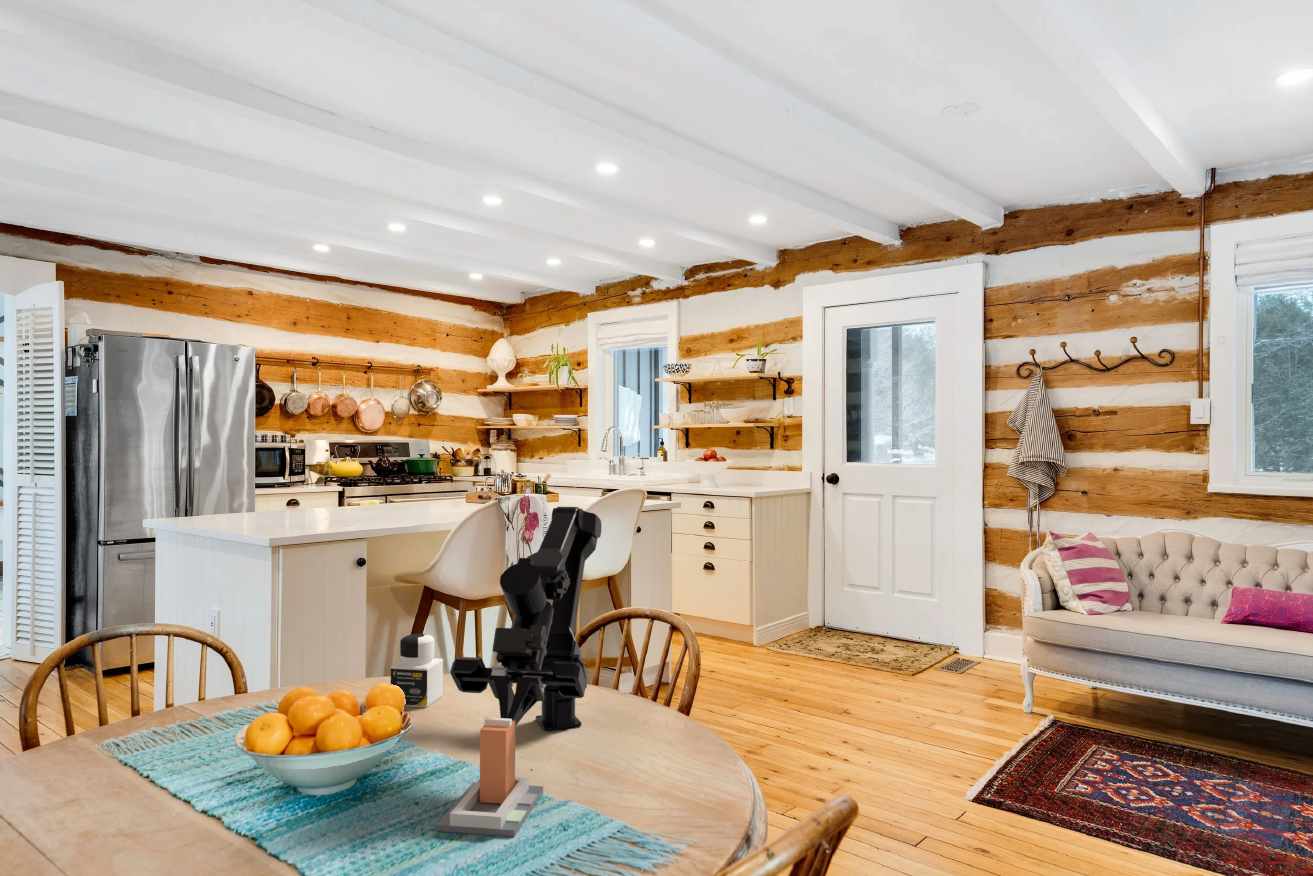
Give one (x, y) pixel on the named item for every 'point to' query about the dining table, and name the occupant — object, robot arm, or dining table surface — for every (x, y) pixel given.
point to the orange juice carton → (497, 759)
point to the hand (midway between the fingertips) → (505, 733)
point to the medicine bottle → (418, 671)
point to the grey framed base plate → (491, 811)
